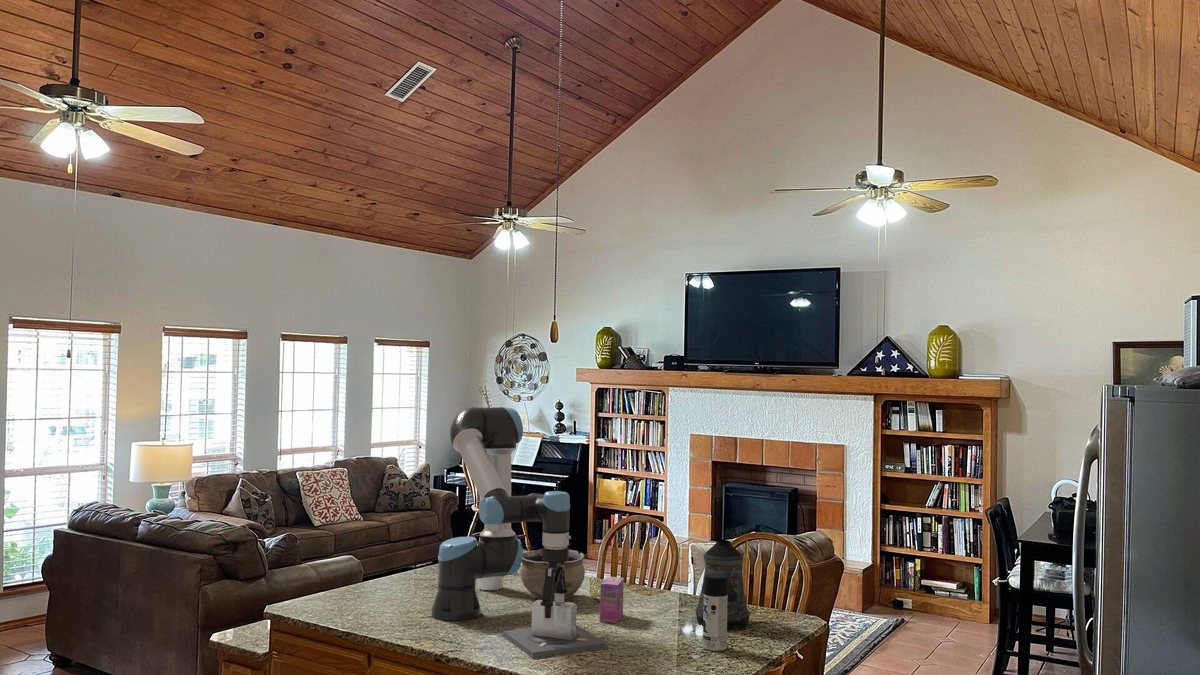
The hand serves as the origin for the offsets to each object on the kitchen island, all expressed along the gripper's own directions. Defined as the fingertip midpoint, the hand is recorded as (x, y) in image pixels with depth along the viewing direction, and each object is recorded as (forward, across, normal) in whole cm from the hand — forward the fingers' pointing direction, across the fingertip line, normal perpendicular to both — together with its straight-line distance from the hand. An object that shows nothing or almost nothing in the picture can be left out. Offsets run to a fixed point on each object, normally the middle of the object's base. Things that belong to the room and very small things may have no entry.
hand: (553, 622), depth 250 cm
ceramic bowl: (+6, +49, +12) cm, 50 cm away
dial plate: (+5, 0, 0) cm, 5 cm away
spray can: (+6, +5, -45) cm, 46 cm away
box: (+6, +29, -12) cm, 32 cm away
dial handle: (+4, 0, 0) cm, 4 cm away
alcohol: (+6, +58, +36) cm, 68 cm away
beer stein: (+6, +33, -45) cm, 56 cm away
